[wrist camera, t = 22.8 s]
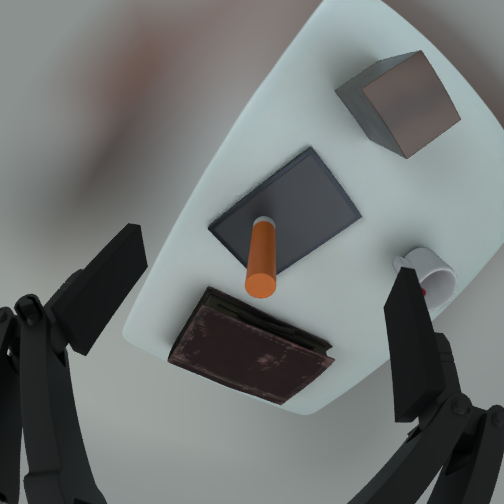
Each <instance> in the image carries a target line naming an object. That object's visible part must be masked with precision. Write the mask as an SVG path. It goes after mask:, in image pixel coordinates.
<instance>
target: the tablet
mask: <svg viewBox="0 0 504 504" xmlns="http://www.w3.org/2000/svg"><path fill="white" fill-rule="evenodd" d="M261 216H267V217H269V218H271V219H272V220H273V221H274V223H275V242H276V275H277V274H279V273H280V272H282V271H283V270H285V269H286V268H288V267H289V266H291V265H292V264H294V263H295V262H297V261H298V260H300V259H301V258H303V257H304V256H306V255H307V254H309V253H310V252H312V251H313V250H315V249H316V248H318V247H319V246H321V245H322V244H324V243H325V242H326V241H328V240H329V239H331V238H332V237H334V236H335V235H337V234H338V233H340V232H341V231H342V230H344V229H345V228H347V227H348V226H350V225H351V224H353V223H354V222H355V221H357V220H358V219H360V218H361V217H362V216H361V214H360V213H359V211H358V210H357V208H356V207H355V205H354V204H353V203H352V201H351V200H350V198H349V197H348V195H347V194H346V193H345V191H344V190H343V188H342V187H341V186H340V184H339V183H338V181H337V180H336V179H335V177H334V176H333V175H332V173H331V172H330V171H329V169H328V168H327V167H326V165H325V164H324V163H323V161H322V160H321V159H320V157H319V156H318V155H317V153H316V152H315V151H314V150H313V148H312V147H311V146H310V147H309V148H308V149H306V150H305V151H304V152H302V153H301V154H300V155H298V156H297V157H296V158H294V159H293V160H292V161H290V162H289V163H288V164H286V165H285V166H284V167H282V168H281V169H280V170H279V171H277V172H276V173H275V174H273V175H272V176H271V177H269V178H268V179H267V180H266V181H264V182H263V183H262V184H260V185H259V186H258V187H257V188H255V189H254V190H253V191H252V192H250V193H249V194H248V195H246V196H245V197H244V198H243V199H241V200H240V201H239V202H238V203H236V204H235V205H234V206H233V207H231V208H230V209H229V210H228V211H226V212H225V213H224V214H223V215H222V216H220V217H219V218H218V219H217V220H215V221H214V222H213V223H212V224H211V225H209V227H208V230H209V231H210V232H211V233H212V234H213V235H214V236H215V237H216V238H217V239H218V240H219V241H220V242H221V243H222V244H223V245H224V246H225V247H226V248H227V249H228V250H229V251H230V252H231V253H232V254H233V255H234V256H235V257H236V258H237V259H238V260H239V261H240V262H241V263H242V264H243V265H244V266H245V268H246V269H247V267H248V259H249V252H250V245H251V237H252V230H253V224H254V221H255V220H256V219H257V218H259V217H261Z"/></svg>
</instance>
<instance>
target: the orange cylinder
mask: <svg viewBox="0 0 504 504" xmlns="http://www.w3.org/2000/svg"><path fill="white" fill-rule="evenodd" d="M245 288H246V291H247V292H248V293H249V294H250V295H251V296H253V297H255V298H267V297H269V296H271V295H272V294H273V293H274V292H275V289H276V242H275V223H274V221H273V220H272V219H271V218H269V217H267V216H261V217H259V218H257V219H256V220H255V221H254V224H253V230H252V237H251V245H250V252H249V259H248V267H247V274H246V281H245Z"/></svg>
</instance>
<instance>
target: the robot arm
mask: <svg viewBox="0 0 504 504" xmlns="http://www.w3.org/2000/svg"><path fill="white" fill-rule="evenodd" d="M147 267H148V265H147V260H146V255H145V249H144V244H143V238H142V232H141V226H140V225H137V224H130V223H128V224H127V225H126V226H125V227H124V228H123V229H122V230H121V231H120V232H119V233H118V234H117V235H116V236H115V237H114V238H113V239H112V240H111V241H110V242H109V243H108V244H107V245H106V246H105V247H104V248H103V249H102V250H101V252H100V253H99V254H98V255H97V256H96V257H95V258H94V259H93V260H92V261H91V262H90V263H89V264H88V265H87V266H86V268H85V269H84V270H82V269H79V270H78V271H76V272H75V273H73V274H72V275H71V276H70V277H69V278H68V279H67V280H66V281H65V283H63V285H62V286H61V287H60V289H58V290H57V292H56V293H55V294H54V295H53V296H52V297H51V298H50V300H49V301H48V302H47V303H46V304H45V305H44V307H43V306H42V304H41V302H40V300H39V298H38V297H37V296H36V295H34V294H27V295H25V296H23V297H21V298H20V299H19V300H18V301H17V302H16V304H15V306H14V309H15V311H16V313H17V315H14V313H13V311H12V310H11V309H10V308H9V307H2V308H0V504H18V501H19V490H20V451H21V437H22V426H23V433H24V441H25V448H26V455H27V461H28V465H29V473H28V474H27V475H26V476H25V477H24V480H23V481H24V489H25V493H26V497H27V501H28V504H107V502H106V500H105V498H104V496H103V494H102V493H101V492H100V490H99V489H98V488H97V486H96V484H95V481H94V478H93V475H92V472H91V468H90V465H89V462H88V458H87V455H86V451H85V447H84V443H83V439H82V435H81V430H80V426H79V422H78V417H77V412H76V407H75V401H74V396H73V389H72V383H71V377H70V368H69V360H68V352H67V350H66V348H65V347H66V346H67V345H68V343H69V344H70V345H71V347H72V349H73V350H74V351H75V352H77V353H80V354H82V355H84V356H86V355H87V354H88V352H89V351H90V349H91V348H92V346H93V344H94V343H95V341H96V339H97V338H98V337H99V335H100V334H101V332H102V331H103V329H104V328H105V326H106V325H107V323H108V322H109V321H110V319H111V318H112V316H113V315H114V313H115V312H116V310H117V309H118V308H119V306H120V305H121V303H122V302H123V300H124V299H125V297H126V296H127V295H128V293H129V292H130V291H131V289H132V288H133V286H134V285H135V284H136V282H137V281H138V280H139V278H140V277H141V275H142V274H143V273H144V271H145V270H146V268H147ZM384 314H385V320H386V327H387V335H388V343H389V351H390V360H391V369H392V380H393V394H394V411H395V422H405V423H406V422H412V421H414V420H415V419H416V418H417V417H418V418H419V424H418V425H417V426H416V427H415V428H414V429H413V430H411V431H410V432H409V433H408V435H409V436H408V438H407V439H406V440H405V442H404V443H403V444H402V445H401V447H400V448H399V449H398V450H397V451H396V453H395V454H394V455H393V456H392V457H391V459H390V460H389V461H388V462H387V463H386V464H385V466H384V467H383V468H382V469H381V470H380V471H379V472H378V473H377V474H376V476H375V477H373V478H372V480H371V481H370V482H369V483H368V484H367V485H366V486H365V487H364V488H363V489H362V490H361V491H360V492H359V493H358V494H357V495H356V496H355V497H354V498H353V499H352V500H351V501H349V502H348V503H347V504H415V503H416V502H417V500H418V499H419V498H420V496H421V495H422V494H423V493H424V491H425V490H426V489H427V487H428V486H429V484H430V483H431V481H432V480H433V479H434V477H435V476H436V474H437V473H438V471H439V470H440V469H441V467H442V466H443V467H442V469H441V472H440V474H439V477H438V480H437V482H436V484H435V486H434V489H433V491H432V493H431V495H430V498H429V500H428V502H427V504H489V503H490V500H491V497H492V494H493V491H494V488H495V485H496V481H497V478H498V473H499V470H500V466H501V462H502V458H503V453H504V408H503V407H502V406H500V405H494V406H492V407H491V408H489V409H488V410H484V409H481V408H478V407H474V406H472V403H471V401H470V399H469V398H468V397H467V396H466V395H465V394H463V393H462V392H461V389H460V384H459V379H458V375H457V370H456V366H455V363H454V358H453V355H452V351H451V347H450V343H449V341H448V340H447V338H446V337H445V335H444V334H443V333H436V332H434V330H433V326H432V322H431V319H430V315H429V312H428V308H427V305H426V302H425V298H424V295H423V292H422V289H421V286H420V283H419V280H418V277H417V274H416V271H415V269H413V268H407V267H401V268H400V270H399V273H398V275H397V278H396V280H395V283H394V285H393V287H392V290H391V292H390V294H389V297H388V299H387V301H386V303H385V306H384ZM8 349H9V350H10V353H9V355H7V351H8Z"/></svg>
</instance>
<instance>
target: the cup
mask: <svg viewBox="0 0 504 504" xmlns="http://www.w3.org/2000/svg"><path fill="white" fill-rule="evenodd" d="M393 267H394V269H395V270H396V272H397V273H399V270H400V268H401V267H407V268H413V269H415V271H416V274H417V277H418V280H419V283H420V286H421V289H422V292H423V295H424V298H425V302H426V305H427V308H428V312H432V311H435V310H438V309H440V308H441V307H443V306H444V305H446V304H447V303H448V302H449V301H450V300H451V298H452V297H453V295H454V294H455V292H456V289H457V285H458V278H457V275H456V273H455V271H454V270H453V269H452V268H451V267H450V266H449V265H448V264H447V263H445V262H444V261H443V260H442V259H441V258H440V257H439V256H438V255H437V254H435V253H434V252H433V251H432V250H430V249H428V248H423V247H422V248H416V249H414V250H412V251H411V252H409V253H408V254H407V255H406V256H405V258H403V257H400V256H396V257H395V258H394V260H393Z"/></svg>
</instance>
